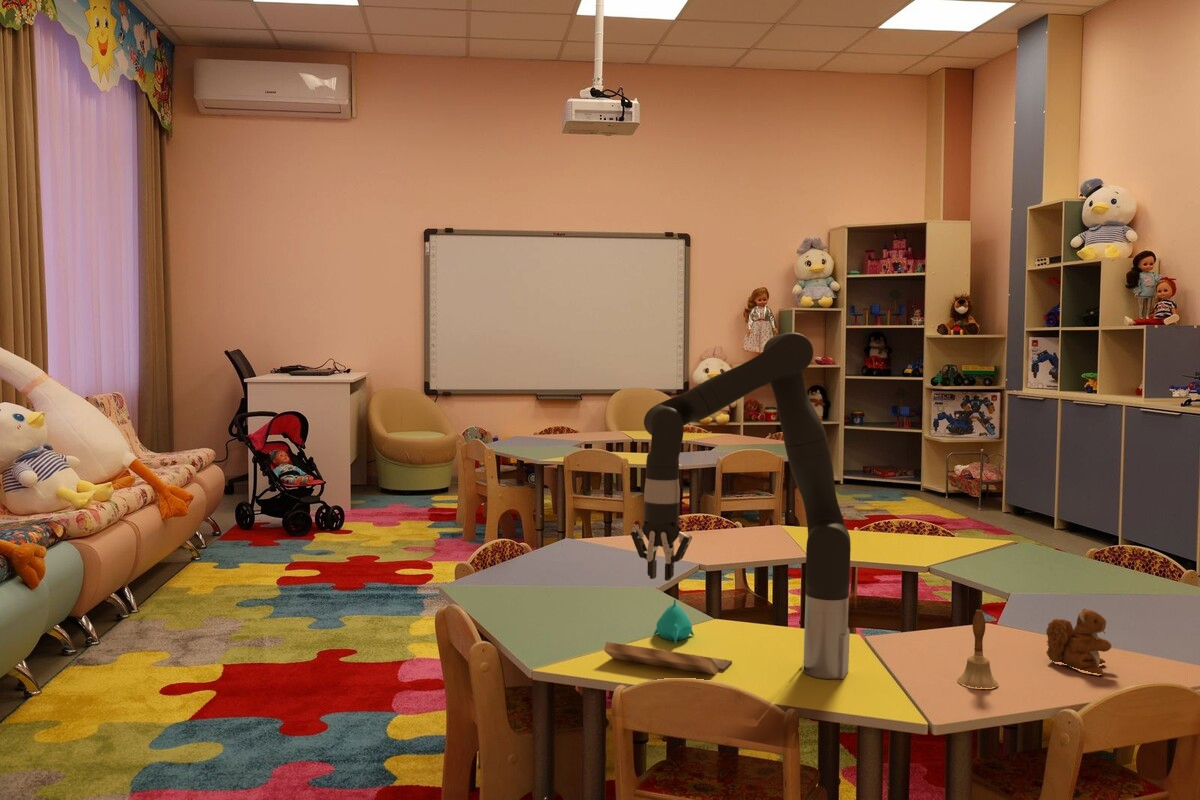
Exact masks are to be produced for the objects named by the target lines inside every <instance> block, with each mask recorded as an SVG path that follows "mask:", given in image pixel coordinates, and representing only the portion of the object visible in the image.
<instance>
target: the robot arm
mask: <svg viewBox="0 0 1200 800" xmlns="http://www.w3.org/2000/svg"><path fill="white" fill-rule="evenodd" d="M813 359H814V347H813V344H812V341H810V340H809V338H807V336H806V335H804V334H802V333H799V332H794V331H793V332H784V333H781V334H778V335H774V336H772V337H770V338H769V339H768V340H767V341H766V343H765V344H764V346H763V349H762V352H761V353H759V354H757V355H756V356H754V357H753V358H751V359H750V360H747V361H745V362H744V363H741V364H740V365H738V366H735V367H733V368H731V369H728V370H726V371H724V372H721V373H719V374H717V375H716V374H715V375H714V376H712V377H710V378H708V379H707V380H704V381H703V382H700V383H699V384H697V385H695V386H693V387H692V388H690V389H688V390H687V391H686V392H684V393H681V394H679V395H676V396H673V397H671V398H669V399H666V400H664V401H661V402H660V403H658V404H655V405H654V406H653V407H651V408H649V410H648V411H647V412H646V413H645V416H644V418H643V426H644V429H645V430H646V432H647V433H648V434H649V435H650V436H651V441H650V442H651V443H650V451H649V452H648V454H647V455H646V461H645V462H646V463H645V484H644V493H643V499H644V500H643V501H644V502H643V504H644V505H643V506H644V507H643V525H642V526H641V528H639V529H636V530H633V531H632V532H630V537H631V538H632V541H633V544H634V546H635V549H636V552H637V555H638V557H640V558H641V559H644V560H646V562H647V571H646V573H647V576H648V577H649V579H650V580H654V579H656V578H657V570H658V569H657V568H658V567H657V565H658V564H657V563H658V562H657V561H658V560H656V558H657V553H658V550H659V547H661V548H662V551H663V553H664V559H665V564H664V581H666V582H667V581H668V582H669V581H670V580H672V578H673V577H674V576H675V574H674V573H675V572H674V571H675V563H677V562H678V563H679V562H680V561H681V560H683V559H684V556H685V554H686V552H687V550H688V548H689V545H690V543H691V541H692V540H693V536H692V535H691V534H686V533H684V532H682V530H681V529H682V528H681V526H680V498H681V497H680V496H681V494H680V493H681V492H680V491H681V490H680V460H679V459H680V456H681V455H680V454H681V449H682V444H683V438H684V432H685V431H684V429H685V428H684V426H686V425H688V424H690V423H692V422H698V421H699V422H700V421H702V420H705V419H707V418H709V417H710V416H712V415H714V414H715V413H717V412H719V411H722V410H723V409H724V408H726V407H728V406H730V405H731V404H733V403H735V402H737V401H738V400H740V399H742V398H744V397H745V396H747V395H748V394H750V393H752V392H754V391H756V390H757V389H760V388H762V387H764V386H766V385H768V384H770V386H771V388H772V392H773V395H774V397H775V398H774V399H775V403H776V407H777V412H778V418H779V423H780V428H781V432H782V437H783V441H784V448H785V452H786V457H787V461H788V465H789V468H790V470H791V473H792V476H793V479H794V482H795V484H796V486H797V489H798V491H799V492H798V493H800V495H801V496H800V497H801V499H802V502H803V505H804V506H803V507H804V511H805V512H804V513H805V518H806V519H805V520H806V528H807V540H806V546H805V547H806V548H805V550H806V551H805V552H806V553H805V601H804V602H805V603H804V604H805V605H804V606H805V607H804V608H805V609H804V611H805V612H804V632H803V633H804V635H803V637H804V638H803V660H802V661H803V663H802V664H803V669H802V670H803V672H804V673H805V674H806V675H808V676H811V677H813V678H818V679H819V678H820V679H830V680H831V679H832V680H834V679H841V680H843V679H844V678H846V676H847V674H848V672H849V668H850V667H849V663H850V636H851V635H850V628H849V601H850V600H849V599H850V597H849V596H850V582H851V581H850V580H851V579H850V578H851V577H850V576H851V574H850V573H851V551H852V550H851V546H852V545H851V536H850V533H849V530H848V528H847V524H846V522H845V520H844V517H843V514H842V511H841V508H840V504H839V501H838V498H837V494H836V485H835V484H836V483H835V475H834V466H833V460H832V459H833V458H832V454H831V450H830V446H829V441H828V437H827V432H826V429H825V427H824V425H823V422H822V421H821V418H820V416H819V414H818V412H817V410H816V408H814V405H813V404H812V401H811V399H810V397H809V395H808V392H807V389H806V382H805V377H804V371H805V370H806V369H807V368H808V367H809V365H810V364H812V361H813ZM644 536H645V538H646V540H647V541H648V545H647V546H646V544H645V540H644ZM677 539H678V542H679V546H678V548H677V551H676V552H675V542H676V540H677Z"/></svg>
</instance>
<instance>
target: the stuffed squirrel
mask: <svg viewBox="0 0 1200 800" xmlns="http://www.w3.org/2000/svg"><path fill="white" fill-rule="evenodd" d="M1106 627H1107V621H1106V619H1105V617H1103V616H1102V615H1101V614H1100V613H1098V612H1096V611H1095V610H1092V609H1087V608H1083V609H1082V610H1081V612H1079V613H1078V616H1077V619H1076V625H1075V627H1074V628H1073V624H1072V621H1070V620H1066V619H1065V618H1064V619H1058V618H1054V619H1052V621H1050V622H1049V623H1048V624H1047V628H1046V631H1045V632H1046V636H1047V640H1046V643H1047V646H1048V648H1047V650H1046V655H1047V656H1048V658H1049V660H1050V661H1051V660H1052V661H1051V662H1053V661H1054V662H1062V663H1064V664H1067V665H1069V666H1071V667H1074V668H1077V669H1080V670H1084V671H1088V672H1091V673H1097V674H1103V675H1104V670H1103V669H1102V667H1098V666H1099V664H1102V663H1105V662H1106V660H1105V659H1103V658H1100V653H1099V652H1108V651H1110V650H1111V649H1112V643H1111V642H1110V641H1109V640H1107V639H1104V638H1102V637H1100V636H1099V635H1098V634H1099V633H1100V634H1101V633H1103V634H1104V635H1105V634H1106V632H1105V630H1106ZM1054 662H1053V663H1054ZM1069 666H1068V667H1069Z"/></svg>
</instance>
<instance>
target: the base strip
mask: <svg viewBox="0 0 1200 800" xmlns="http://www.w3.org/2000/svg"><path fill="white" fill-rule="evenodd" d="M622 644H623V643H622ZM623 645H626V644H623ZM628 645H629V646H633V645H632V644H628ZM635 646H636V647H639V646H638V645H635ZM641 647H642V648H646V647H644V646H641ZM648 648H649V649H652V648H650V647H648ZM654 649H655V650H659V649H657V648H654ZM661 650H662V651H665V650H664V649H661ZM667 651H668V652H672V651H669V650H667ZM674 652H675V653H679V652H676V651H674ZM680 653H681V654H685V653H683V652H680ZM687 654H688V655H692V654H690V653H687ZM694 655H695V656H698V655H696V654H694ZM700 656H701V657H705V656H703V655H700ZM707 657H708V656H707ZM708 658H711V659H712V660H713V661H714V662H715V663H716V664H717V666H718V667H719V669H718V673H725V672H726V670H728V669H729V668H730V667H731V666H732V664H733V660H729V659H723V658H716V657H710V656H709V657H708Z"/></svg>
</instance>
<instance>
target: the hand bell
mask: <svg viewBox="0 0 1200 800" xmlns="http://www.w3.org/2000/svg"><path fill="white" fill-rule="evenodd" d="M983 611H984V610H982V609H975V614H974V616H973V619H972V632H973V636H974V648H973V650H974V654H973V655H971V656H968V658H967V661H966V664H965V665H966V666H965V669H964V671H963V673H962V674H961V675H960V676H958V678H957V679H958V681H959V682H960V683H962V684H964V685H966V686H970V687H974V688H975V687H977V688H981V687H982V688H992V687H996V686H997V685H998V686H999V682H998V681H997V680H996V679H995V678H994V676H993V674H992V670H991V663H990V660H989V658H988V657H985V656H984V648H983V647H984V646H983V641H984V636H985V632H986V618H985V616H984V612H983Z"/></svg>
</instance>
